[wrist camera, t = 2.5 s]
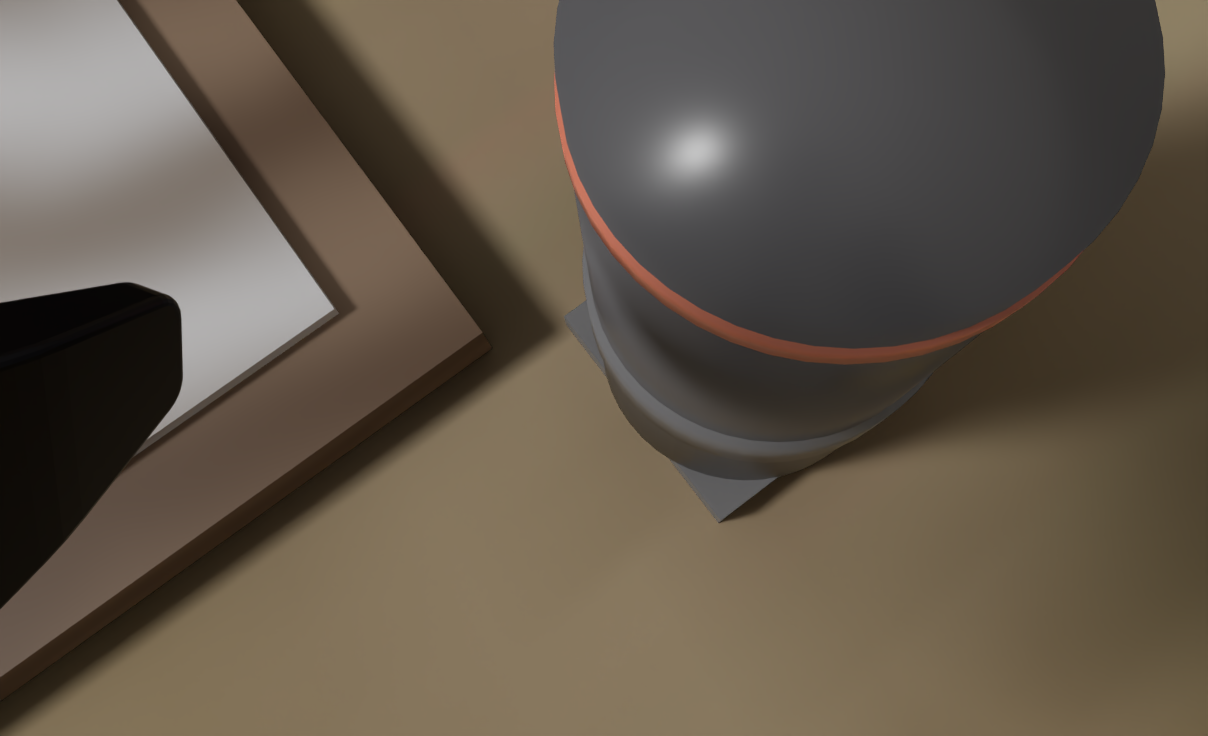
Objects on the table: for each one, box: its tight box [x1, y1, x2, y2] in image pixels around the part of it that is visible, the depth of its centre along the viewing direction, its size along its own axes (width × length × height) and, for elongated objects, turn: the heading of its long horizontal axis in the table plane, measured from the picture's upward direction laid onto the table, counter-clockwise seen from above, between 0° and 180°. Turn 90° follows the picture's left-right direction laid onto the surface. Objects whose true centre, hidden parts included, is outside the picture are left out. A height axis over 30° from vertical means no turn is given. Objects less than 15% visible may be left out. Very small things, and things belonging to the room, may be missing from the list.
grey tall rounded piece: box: [554, 0, 1165, 523], centre depth 14 cm, size 6×6×11 cm
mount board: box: [0, 0, 492, 701], centre depth 20 cm, size 14×14×2 cm
